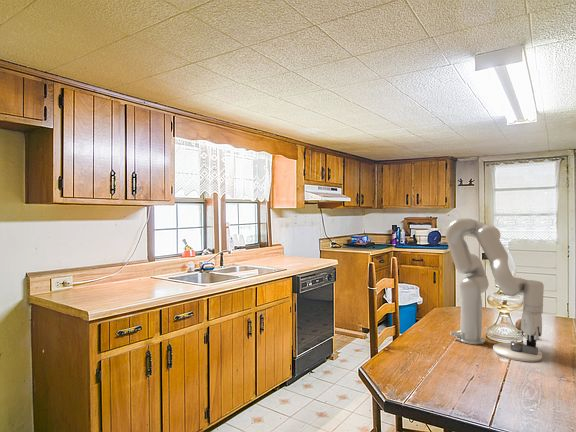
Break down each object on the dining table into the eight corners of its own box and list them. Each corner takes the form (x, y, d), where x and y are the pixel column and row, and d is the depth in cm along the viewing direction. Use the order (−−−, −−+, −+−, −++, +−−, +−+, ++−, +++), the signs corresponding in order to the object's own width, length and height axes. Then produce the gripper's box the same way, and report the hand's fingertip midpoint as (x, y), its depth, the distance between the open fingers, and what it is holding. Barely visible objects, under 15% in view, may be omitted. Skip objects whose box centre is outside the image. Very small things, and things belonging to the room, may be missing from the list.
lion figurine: (527, 338, 200) (528, 320, 199) (515, 337, 202) (515, 319, 202) (525, 330, 213) (525, 314, 212) (514, 329, 215) (514, 312, 215)
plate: (505, 360, 169) (505, 357, 169) (485, 345, 188) (485, 342, 188) (551, 362, 168) (551, 359, 168) (527, 347, 187) (527, 343, 187)
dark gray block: (509, 349, 178) (509, 342, 178) (512, 347, 182) (512, 339, 182) (536, 356, 171) (536, 348, 171) (538, 353, 174) (539, 345, 174)
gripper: (516, 304, 184) (514, 343, 185) (531, 312, 170) (529, 355, 170) (533, 305, 183) (532, 344, 184) (550, 313, 168) (548, 356, 169)
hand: (531, 349), depth 177 cm, fingers closed
